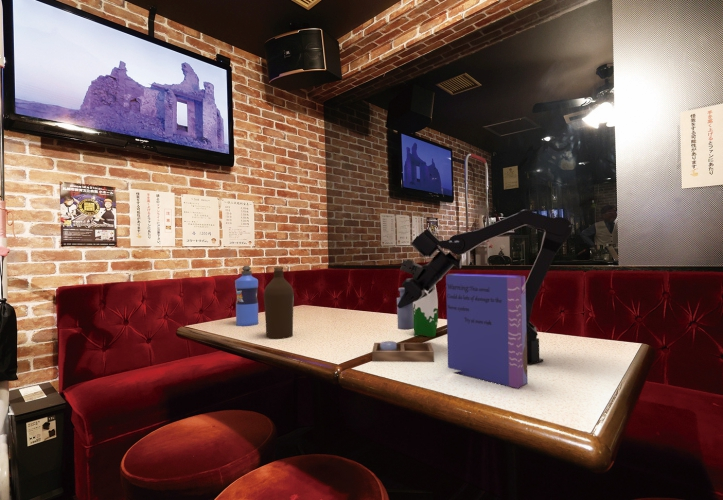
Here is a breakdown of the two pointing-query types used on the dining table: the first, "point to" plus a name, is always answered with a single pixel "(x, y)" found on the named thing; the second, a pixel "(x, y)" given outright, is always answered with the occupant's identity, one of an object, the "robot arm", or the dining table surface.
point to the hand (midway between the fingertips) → (400, 305)
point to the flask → (405, 314)
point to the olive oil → (279, 306)
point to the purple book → (487, 327)
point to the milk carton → (426, 314)
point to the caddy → (404, 353)
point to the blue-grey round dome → (388, 346)
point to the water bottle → (246, 299)
